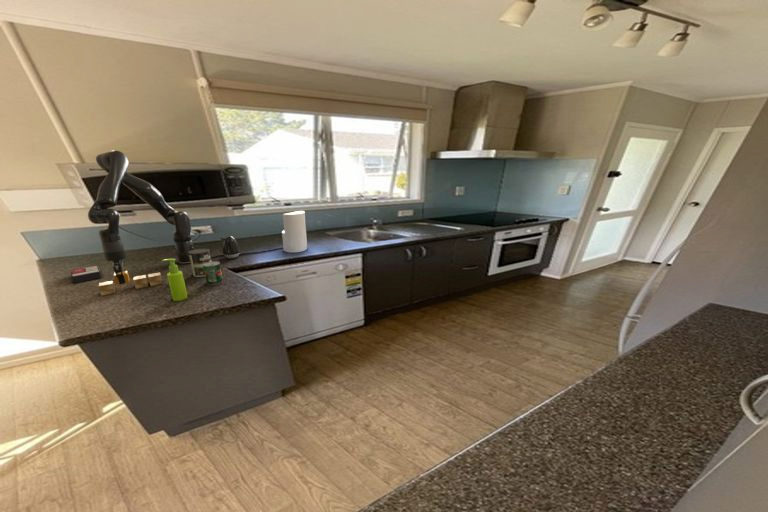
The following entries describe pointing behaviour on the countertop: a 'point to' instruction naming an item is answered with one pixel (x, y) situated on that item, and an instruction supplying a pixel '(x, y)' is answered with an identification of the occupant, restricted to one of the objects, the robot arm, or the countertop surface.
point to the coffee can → (199, 261)
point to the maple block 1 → (106, 288)
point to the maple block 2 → (155, 279)
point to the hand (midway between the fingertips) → (123, 281)
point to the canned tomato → (213, 273)
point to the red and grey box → (85, 274)
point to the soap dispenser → (176, 282)
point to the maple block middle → (140, 281)
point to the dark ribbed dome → (230, 247)
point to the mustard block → (124, 277)
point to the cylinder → (294, 232)
